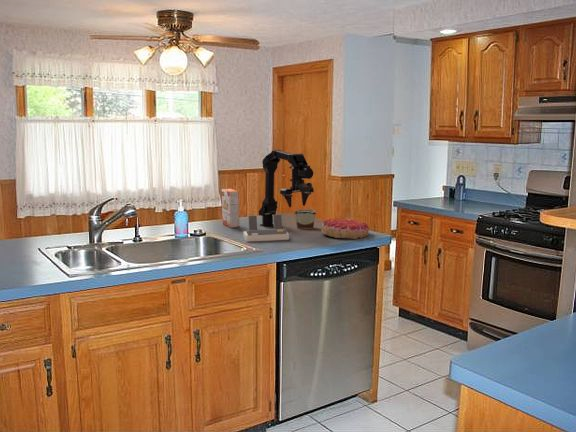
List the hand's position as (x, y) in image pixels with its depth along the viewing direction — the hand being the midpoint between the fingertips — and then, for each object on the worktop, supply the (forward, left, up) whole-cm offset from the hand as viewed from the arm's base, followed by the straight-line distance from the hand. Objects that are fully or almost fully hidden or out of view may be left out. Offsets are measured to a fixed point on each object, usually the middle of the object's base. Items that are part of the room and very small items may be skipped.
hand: (297, 206), depth 291 cm
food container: (-10, +14, -15) cm, 23 cm away
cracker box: (-41, -17, -15) cm, 47 cm away
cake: (+18, +18, -15) cm, 29 cm away
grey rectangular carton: (+3, -15, -11) cm, 19 cm away
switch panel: (0, -21, -15) cm, 25 cm away
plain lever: (-3, -26, -11) cm, 29 cm away
